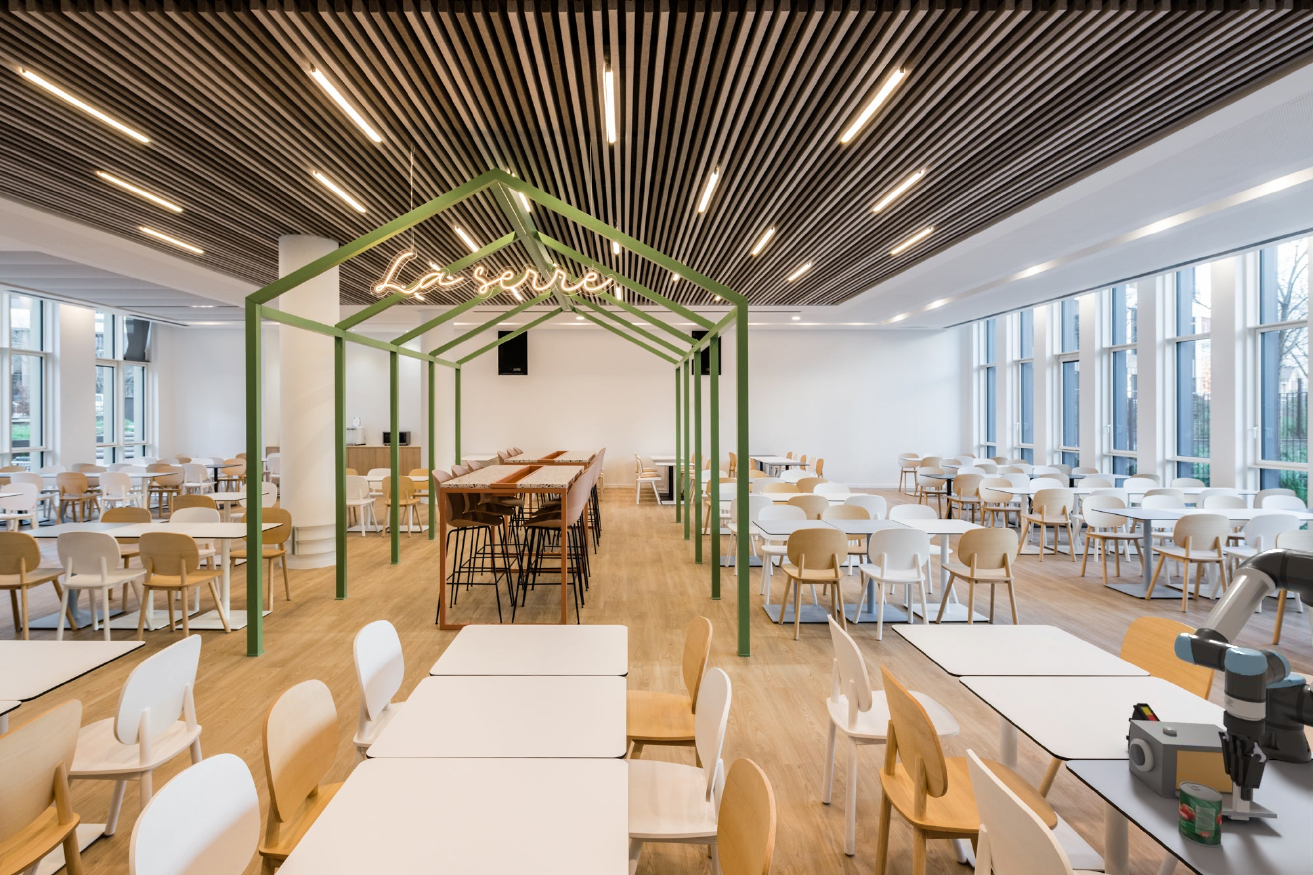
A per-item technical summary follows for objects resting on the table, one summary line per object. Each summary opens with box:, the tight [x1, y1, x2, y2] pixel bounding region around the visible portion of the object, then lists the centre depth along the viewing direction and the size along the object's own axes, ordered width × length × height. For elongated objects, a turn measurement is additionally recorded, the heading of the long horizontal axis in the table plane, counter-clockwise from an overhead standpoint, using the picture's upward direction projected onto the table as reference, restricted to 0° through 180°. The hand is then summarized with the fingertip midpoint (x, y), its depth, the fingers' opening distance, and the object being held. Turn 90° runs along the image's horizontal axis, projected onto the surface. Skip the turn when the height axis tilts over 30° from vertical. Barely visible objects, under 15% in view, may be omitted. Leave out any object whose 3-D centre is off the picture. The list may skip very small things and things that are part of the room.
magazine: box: [1125, 702, 1162, 749], centre depth 194 cm, size 4×13×15 cm, turn 177°
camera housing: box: [1128, 720, 1254, 801], centre depth 180 cm, size 24×14×15 cm, turn 84°
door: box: [1175, 791, 1278, 821], centre depth 167 cm, size 2×16×11 cm
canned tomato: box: [1177, 782, 1223, 848], centre depth 157 cm, size 8×8×11 cm
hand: (1240, 810), depth 161 cm, fingers closed
